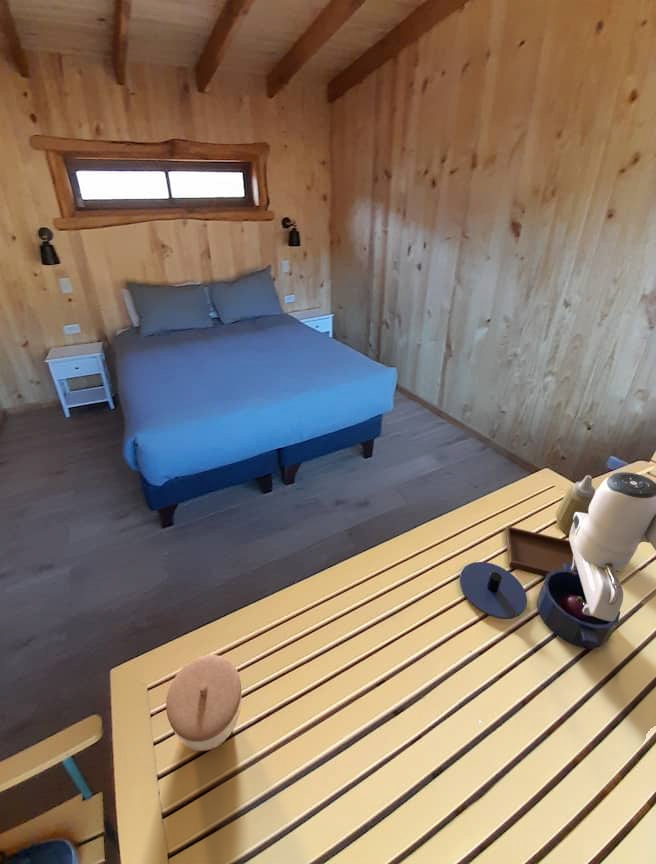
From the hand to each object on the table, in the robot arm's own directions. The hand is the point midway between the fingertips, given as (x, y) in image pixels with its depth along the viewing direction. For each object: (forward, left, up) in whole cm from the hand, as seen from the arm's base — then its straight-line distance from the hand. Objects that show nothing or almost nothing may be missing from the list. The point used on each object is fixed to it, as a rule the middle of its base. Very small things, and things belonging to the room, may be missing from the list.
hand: (580, 591), depth 84 cm
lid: (+16, -1, -8) cm, 18 cm away
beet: (0, 0, -8) cm, 8 cm away
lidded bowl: (+65, +44, -9) cm, 79 cm away
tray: (+3, -16, -8) cm, 18 cm away
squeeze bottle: (-5, -29, -9) cm, 31 cm away
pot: (0, 0, -8) cm, 8 cm away
